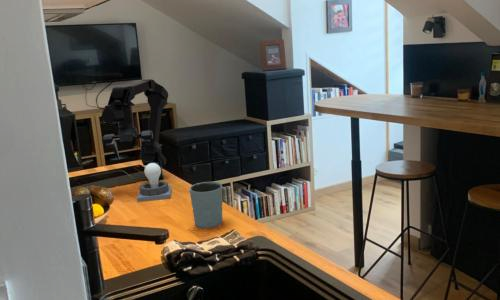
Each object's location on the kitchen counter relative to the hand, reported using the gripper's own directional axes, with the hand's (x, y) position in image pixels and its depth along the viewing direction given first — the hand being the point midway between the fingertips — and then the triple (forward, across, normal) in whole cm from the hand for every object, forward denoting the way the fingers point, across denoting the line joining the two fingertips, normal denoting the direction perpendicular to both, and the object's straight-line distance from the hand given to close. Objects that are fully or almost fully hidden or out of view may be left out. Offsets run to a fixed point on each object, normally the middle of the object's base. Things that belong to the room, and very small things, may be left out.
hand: (130, 158), depth 186 cm
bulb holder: (+13, +8, -10) cm, 18 cm away
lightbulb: (+12, +8, -10) cm, 17 cm away
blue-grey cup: (+13, +26, -46) cm, 55 cm away
